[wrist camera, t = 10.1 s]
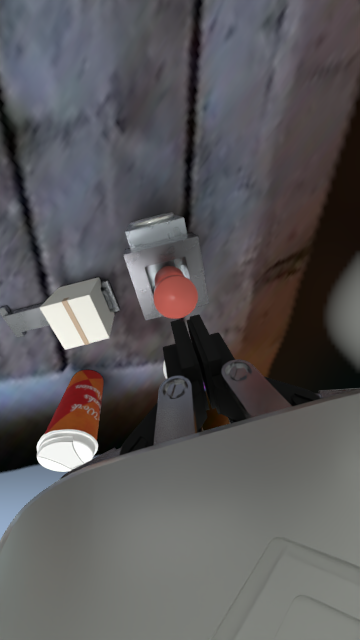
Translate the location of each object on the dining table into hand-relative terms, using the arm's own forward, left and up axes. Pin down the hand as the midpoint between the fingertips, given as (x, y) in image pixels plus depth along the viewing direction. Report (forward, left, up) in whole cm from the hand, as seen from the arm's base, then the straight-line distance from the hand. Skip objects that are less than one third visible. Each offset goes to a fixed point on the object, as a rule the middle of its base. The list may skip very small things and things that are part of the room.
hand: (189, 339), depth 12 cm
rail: (+4, -16, -22) cm, 28 cm away
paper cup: (+19, -19, -22) cm, 35 cm away
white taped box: (+4, -12, -22) cm, 26 cm away
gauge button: (0, 0, -10) cm, 10 cm away
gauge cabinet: (0, 0, -22) cm, 22 cm away
